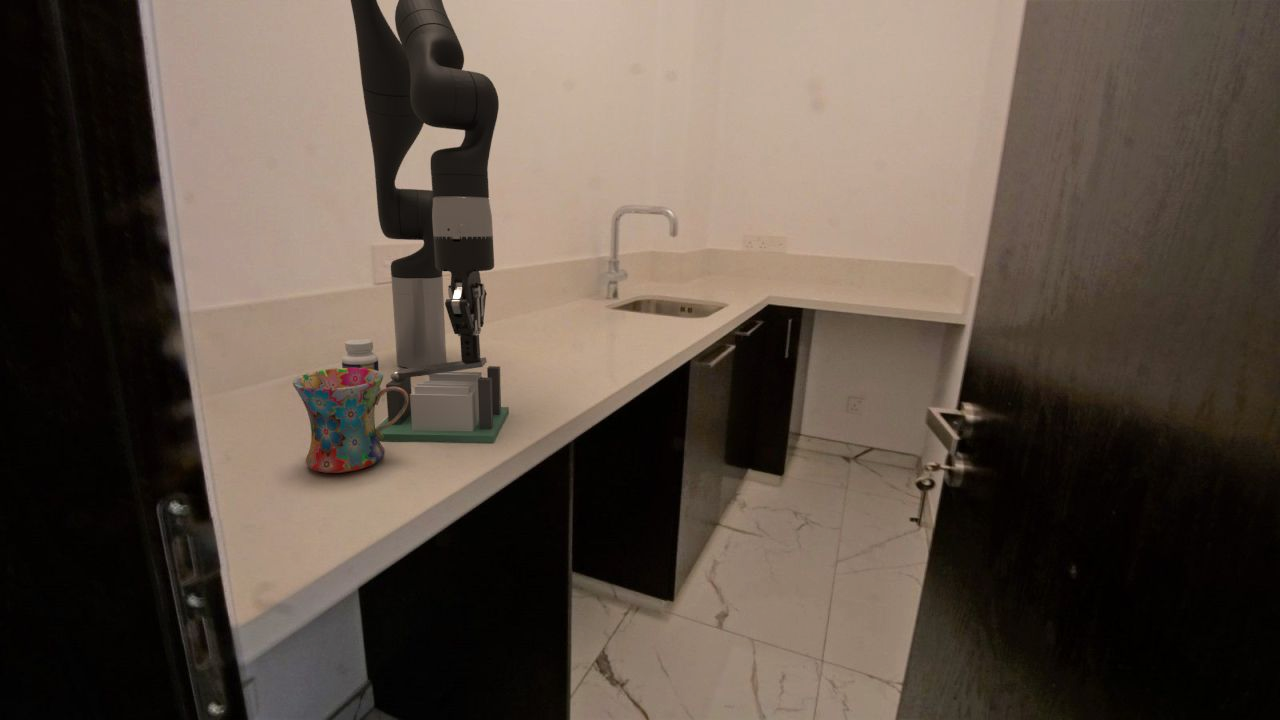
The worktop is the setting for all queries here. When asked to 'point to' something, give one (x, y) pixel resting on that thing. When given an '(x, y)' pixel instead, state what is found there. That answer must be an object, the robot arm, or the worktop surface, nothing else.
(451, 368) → the strap
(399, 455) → the worktop surface
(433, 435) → the heatsink base
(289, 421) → the worktop surface
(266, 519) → the worktop surface
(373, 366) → the pill bottle
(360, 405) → the mug
